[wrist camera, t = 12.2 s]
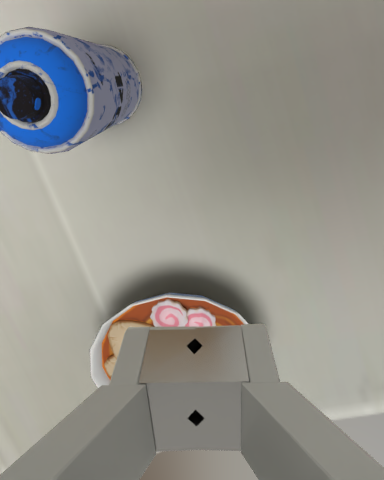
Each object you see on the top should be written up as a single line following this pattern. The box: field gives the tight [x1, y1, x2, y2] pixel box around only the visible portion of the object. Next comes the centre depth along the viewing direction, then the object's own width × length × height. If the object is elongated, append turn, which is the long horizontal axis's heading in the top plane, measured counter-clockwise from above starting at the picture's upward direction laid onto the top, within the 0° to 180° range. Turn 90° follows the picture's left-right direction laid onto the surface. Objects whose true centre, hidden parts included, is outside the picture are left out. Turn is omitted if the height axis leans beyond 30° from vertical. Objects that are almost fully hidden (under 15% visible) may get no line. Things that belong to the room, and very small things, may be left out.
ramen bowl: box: [90, 293, 248, 388], centre depth 47 cm, size 25×23×8 cm
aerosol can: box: [0, 27, 142, 154], centre depth 28 cm, size 8×8×20 cm
